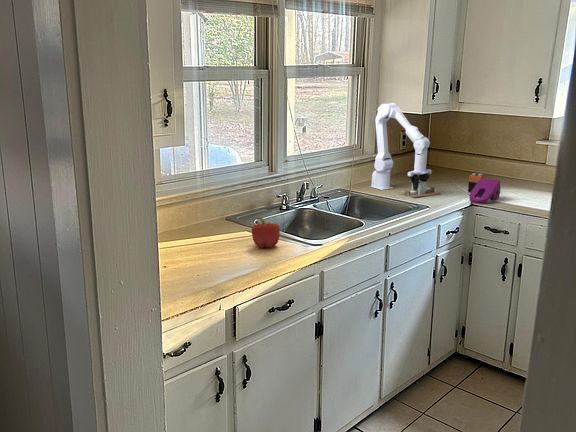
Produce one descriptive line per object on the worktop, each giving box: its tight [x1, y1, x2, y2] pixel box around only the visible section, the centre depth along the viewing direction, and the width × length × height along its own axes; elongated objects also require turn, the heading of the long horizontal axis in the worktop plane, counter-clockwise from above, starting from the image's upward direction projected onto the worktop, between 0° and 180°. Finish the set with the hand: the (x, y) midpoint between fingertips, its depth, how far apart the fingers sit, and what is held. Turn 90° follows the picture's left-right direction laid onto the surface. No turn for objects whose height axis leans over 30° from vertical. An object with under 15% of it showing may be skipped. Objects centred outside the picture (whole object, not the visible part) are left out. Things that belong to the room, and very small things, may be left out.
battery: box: [467, 172, 486, 193], centre depth 300 cm, size 4×7×10 cm, turn 49°
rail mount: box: [398, 186, 441, 199], centre depth 296 cm, size 11×18×3 cm, turn 123°
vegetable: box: [251, 216, 280, 249], centre depth 212 cm, size 11×10×10 cm
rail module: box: [410, 180, 427, 195], centre depth 295 cm, size 6×4×6 cm, turn 33°
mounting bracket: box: [468, 177, 501, 205], centre depth 286 cm, size 10×8×18 cm
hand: (418, 188), depth 295 cm, fingers closed on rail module, 4 cm apart
